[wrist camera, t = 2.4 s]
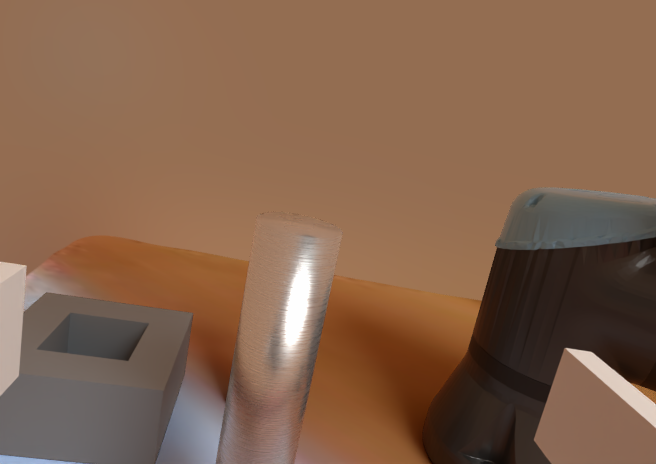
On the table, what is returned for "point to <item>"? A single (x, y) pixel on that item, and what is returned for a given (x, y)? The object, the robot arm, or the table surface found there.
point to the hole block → (94, 381)
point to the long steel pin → (278, 337)
